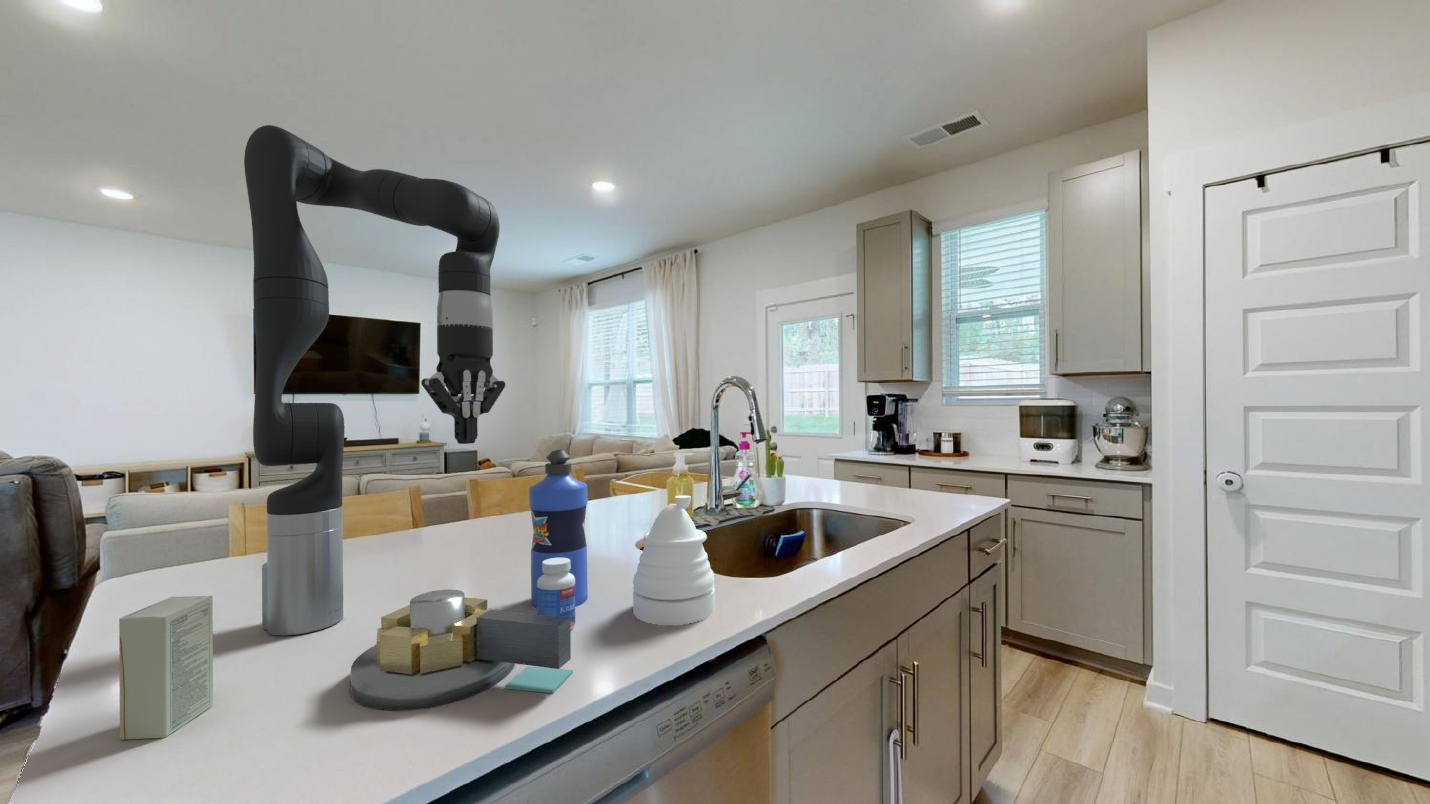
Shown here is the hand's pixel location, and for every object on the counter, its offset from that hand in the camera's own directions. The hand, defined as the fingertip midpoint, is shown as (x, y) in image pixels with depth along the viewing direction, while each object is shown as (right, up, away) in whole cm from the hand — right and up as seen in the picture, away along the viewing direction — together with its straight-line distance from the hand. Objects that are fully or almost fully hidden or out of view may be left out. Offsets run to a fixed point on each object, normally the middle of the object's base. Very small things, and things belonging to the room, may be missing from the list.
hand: (466, 443), depth 83 cm
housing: (+3, -27, -14) cm, 30 cm away
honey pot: (+30, -27, +6) cm, 41 cm away
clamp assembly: (+8, -24, -15) cm, 30 cm away
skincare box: (-20, -27, -25) cm, 42 cm away
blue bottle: (+11, -27, +11) cm, 31 cm away
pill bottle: (+13, -27, -1) cm, 30 cm away
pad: (+16, -27, -17) cm, 35 cm away
